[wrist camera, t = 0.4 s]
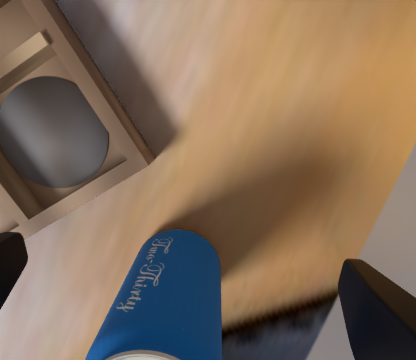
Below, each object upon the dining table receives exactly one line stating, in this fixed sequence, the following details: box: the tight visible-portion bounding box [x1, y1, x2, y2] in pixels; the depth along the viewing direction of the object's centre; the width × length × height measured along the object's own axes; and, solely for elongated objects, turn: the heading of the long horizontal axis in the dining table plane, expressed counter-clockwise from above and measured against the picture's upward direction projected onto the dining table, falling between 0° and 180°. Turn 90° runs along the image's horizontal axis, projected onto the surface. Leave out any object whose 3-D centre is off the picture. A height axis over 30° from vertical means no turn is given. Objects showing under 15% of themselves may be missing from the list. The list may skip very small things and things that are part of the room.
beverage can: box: [85, 229, 222, 360], centre depth 19 cm, size 6×6×12 cm
